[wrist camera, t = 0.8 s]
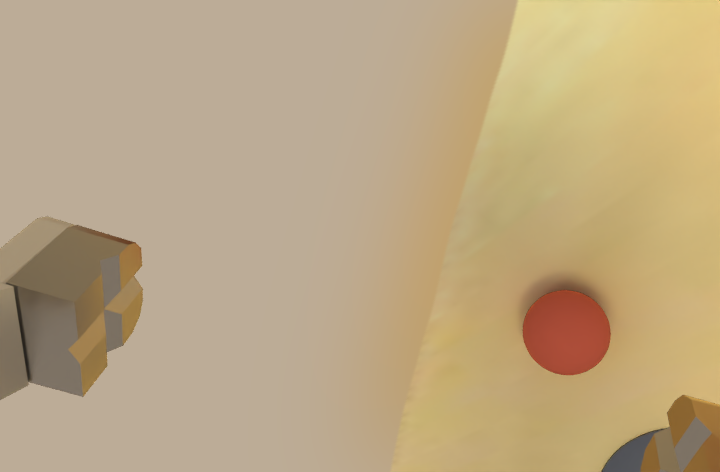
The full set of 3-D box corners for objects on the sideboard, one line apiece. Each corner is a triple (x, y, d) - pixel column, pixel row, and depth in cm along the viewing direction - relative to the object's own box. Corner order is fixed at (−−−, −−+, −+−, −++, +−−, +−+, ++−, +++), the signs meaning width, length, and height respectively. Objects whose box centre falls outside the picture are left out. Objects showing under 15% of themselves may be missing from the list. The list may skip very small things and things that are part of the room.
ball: (624, 334, 51) (630, 364, 45) (552, 369, 53) (550, 402, 47) (580, 266, 51) (582, 288, 45) (510, 304, 53) (503, 329, 47)
